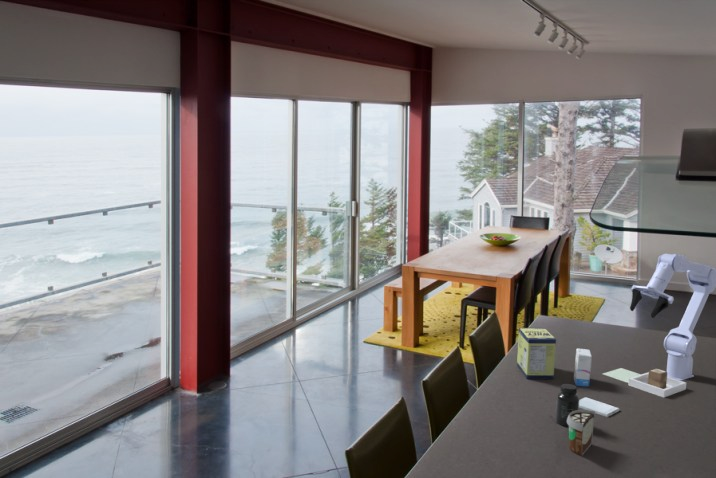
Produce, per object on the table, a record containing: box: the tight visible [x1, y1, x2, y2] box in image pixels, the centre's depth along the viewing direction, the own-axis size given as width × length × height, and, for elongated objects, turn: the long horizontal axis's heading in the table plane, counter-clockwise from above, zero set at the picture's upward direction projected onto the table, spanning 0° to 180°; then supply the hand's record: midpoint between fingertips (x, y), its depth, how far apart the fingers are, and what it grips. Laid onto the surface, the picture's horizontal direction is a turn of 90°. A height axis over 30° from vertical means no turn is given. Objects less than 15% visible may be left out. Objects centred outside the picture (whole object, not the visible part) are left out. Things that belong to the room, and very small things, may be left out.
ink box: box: [573, 347, 593, 388], centre depth 261 cm, size 9×5×12 cm, turn 168°
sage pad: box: [602, 367, 642, 384], centre depth 269 cm, size 12×11×1 cm
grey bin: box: [627, 371, 687, 398], centre depth 257 cm, size 14×14×3 cm
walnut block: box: [648, 368, 668, 389], centre depth 256 cm, size 4×4×6 cm
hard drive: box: [579, 396, 621, 418], centre depth 238 cm, size 2×8×12 cm
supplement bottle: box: [555, 383, 580, 427], centre depth 225 cm, size 7×7×12 cm
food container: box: [567, 409, 596, 456], centre depth 208 cm, size 12×6×10 cm, turn 145°
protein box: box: [516, 327, 557, 380], centre depth 271 cm, size 10×16×16 cm
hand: (641, 313), depth 249 cm, fingers open, 7 cm apart
